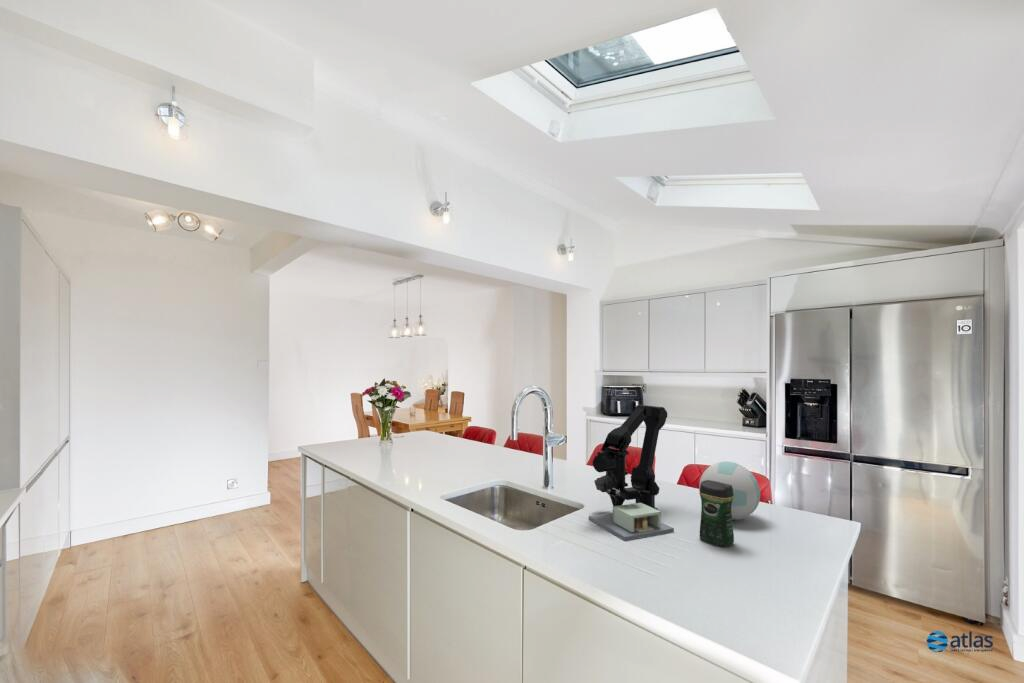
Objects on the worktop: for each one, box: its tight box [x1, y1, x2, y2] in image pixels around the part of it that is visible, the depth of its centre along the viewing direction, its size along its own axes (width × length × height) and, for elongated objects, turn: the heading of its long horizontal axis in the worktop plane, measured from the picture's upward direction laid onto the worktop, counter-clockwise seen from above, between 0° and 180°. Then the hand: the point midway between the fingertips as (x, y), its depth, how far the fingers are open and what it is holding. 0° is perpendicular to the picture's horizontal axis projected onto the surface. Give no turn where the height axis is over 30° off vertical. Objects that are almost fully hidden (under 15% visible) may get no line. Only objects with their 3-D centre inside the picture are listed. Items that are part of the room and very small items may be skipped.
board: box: [588, 512, 675, 542], centre depth 155 cm, size 20×20×4 cm
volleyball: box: [698, 461, 761, 521], centre depth 165 cm, size 20×20×20 cm
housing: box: [612, 502, 662, 532], centre depth 154 cm, size 12×14×5 cm
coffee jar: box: [698, 480, 735, 547], centre depth 143 cm, size 10×8×19 cm
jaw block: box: [634, 516, 647, 528], centre depth 152 cm, size 4×4×4 cm
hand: (616, 512), depth 162 cm, fingers closed
